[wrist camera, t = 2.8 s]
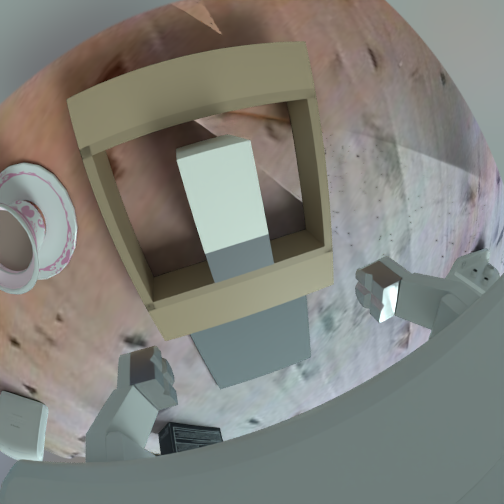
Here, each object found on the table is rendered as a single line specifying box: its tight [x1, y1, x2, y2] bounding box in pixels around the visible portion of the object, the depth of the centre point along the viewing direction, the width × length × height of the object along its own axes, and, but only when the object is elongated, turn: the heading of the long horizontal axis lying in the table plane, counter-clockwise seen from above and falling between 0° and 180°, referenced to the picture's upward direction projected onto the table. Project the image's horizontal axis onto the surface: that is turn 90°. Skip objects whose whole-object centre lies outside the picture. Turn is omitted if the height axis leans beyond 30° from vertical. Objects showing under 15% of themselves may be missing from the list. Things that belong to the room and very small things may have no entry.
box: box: [176, 134, 274, 283], centre depth 20 cm, size 4×9×7 cm, turn 12°
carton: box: [66, 42, 334, 341], centre depth 22 cm, size 18×23×4 cm
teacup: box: [0, 162, 78, 294], centre depth 17 cm, size 12×12×6 cm
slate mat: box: [190, 295, 311, 389], centre depth 34 cm, size 14×13×1 cm
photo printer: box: [0, 391, 48, 461], centre depth 23 cm, size 10×4×12 cm, turn 71°
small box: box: [158, 423, 223, 455], centre depth 37 cm, size 11×6×10 cm, turn 56°
